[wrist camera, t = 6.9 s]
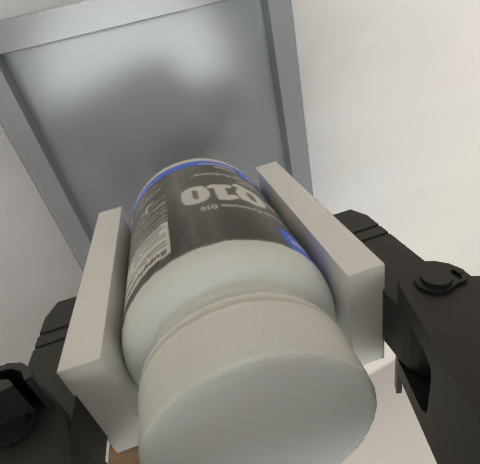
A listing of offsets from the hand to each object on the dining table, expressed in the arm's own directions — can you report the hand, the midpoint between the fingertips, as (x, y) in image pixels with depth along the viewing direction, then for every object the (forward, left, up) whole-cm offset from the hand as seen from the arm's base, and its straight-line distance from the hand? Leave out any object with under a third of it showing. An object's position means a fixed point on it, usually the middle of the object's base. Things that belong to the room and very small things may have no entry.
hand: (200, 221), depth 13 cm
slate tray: (0, 0, -8) cm, 8 cm away
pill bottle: (0, 0, -1) cm, 1 cm away
